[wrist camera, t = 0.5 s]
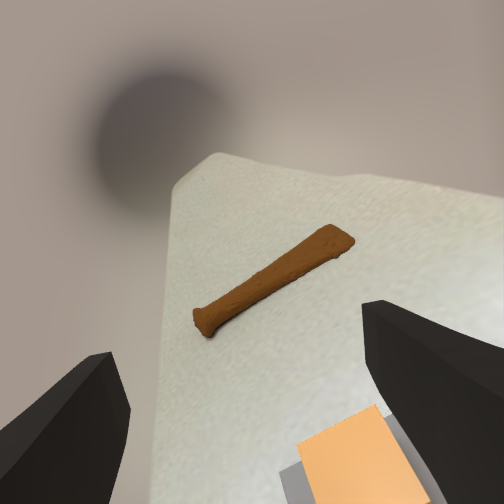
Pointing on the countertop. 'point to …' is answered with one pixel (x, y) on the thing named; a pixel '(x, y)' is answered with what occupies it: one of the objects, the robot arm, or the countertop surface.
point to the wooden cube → (360, 464)
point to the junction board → (298, 484)
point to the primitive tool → (275, 276)
